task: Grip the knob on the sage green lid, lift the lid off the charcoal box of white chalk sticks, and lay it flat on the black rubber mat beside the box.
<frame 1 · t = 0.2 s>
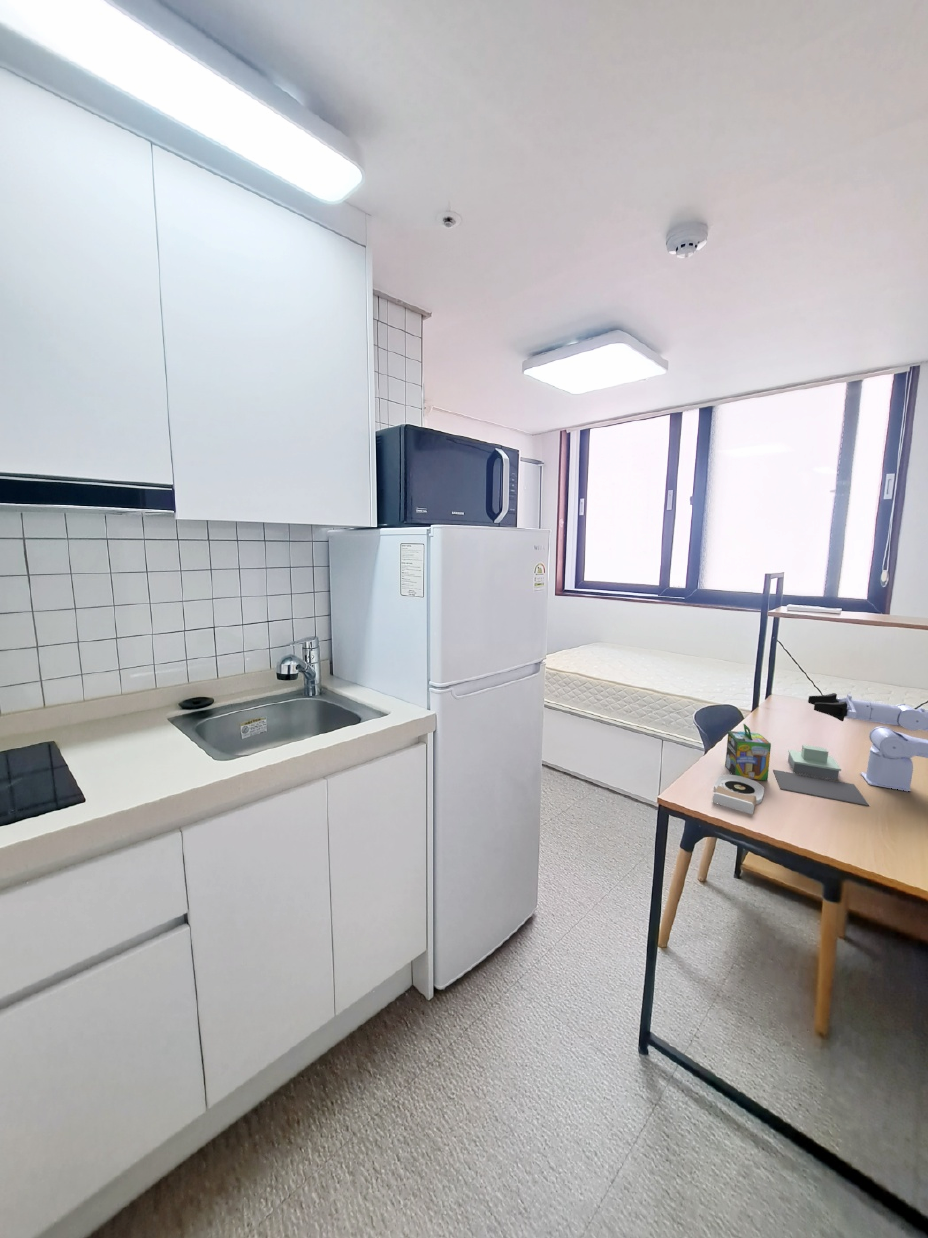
hand: (811, 702, 146), 21 cm above the table, tool horizontal, fingers open, 7 cm apart
lid: (813, 763, 148), point 2 cm above the table
chalk tray box: (811, 771, 149), on the table
record player: (737, 795, 133), on the table
chalk box: (745, 773, 146), on the table
rubber mat: (817, 787, 138), on the table
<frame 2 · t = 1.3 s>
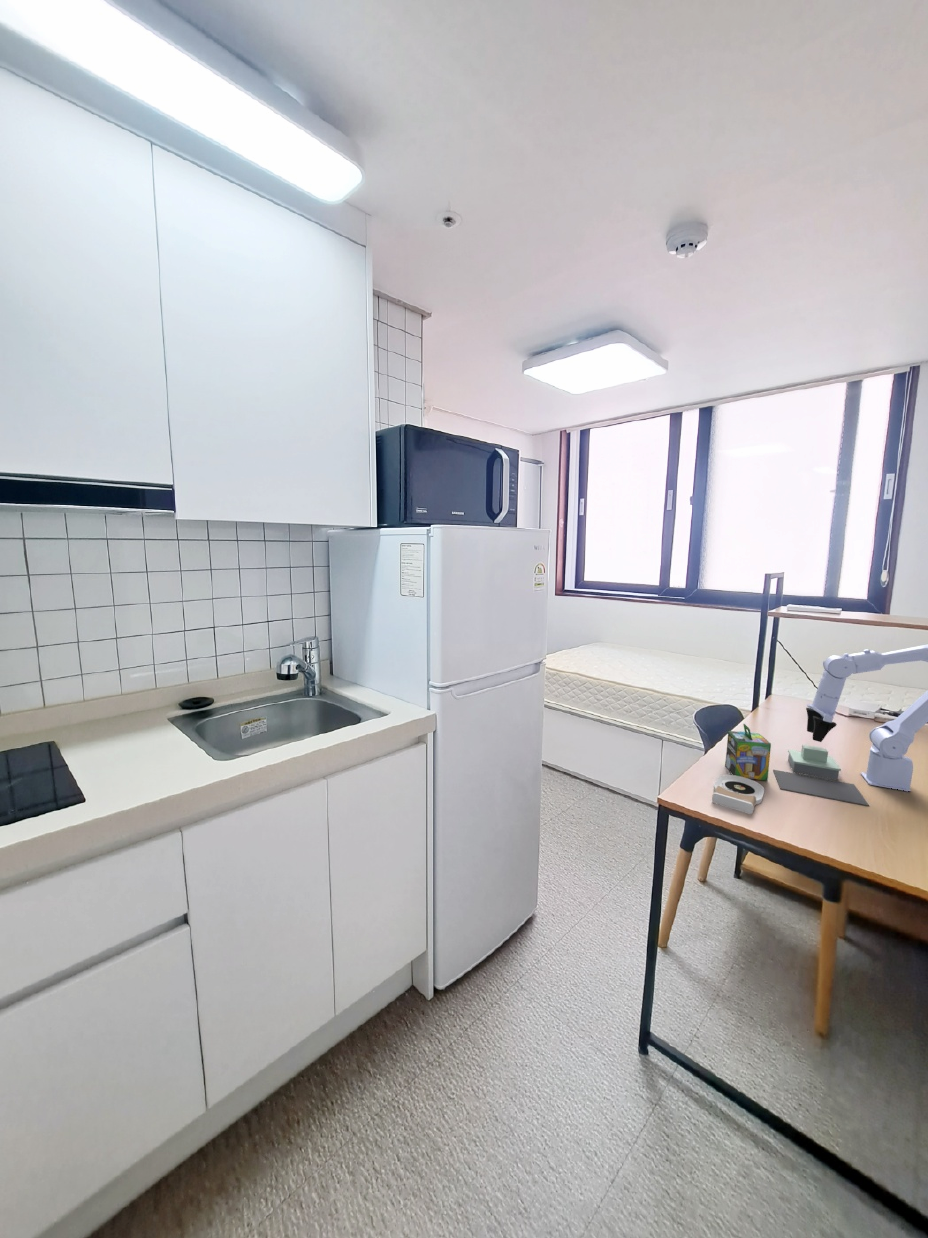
hand: (813, 736, 147), 11 cm above the table, tool pointing down, fingers open, 7 cm apart
lid: (812, 763, 148), point 2 cm above the table, touching chalk tray box
chalk tray box: (811, 771, 149), on the table, touching lid
everything else where it was.
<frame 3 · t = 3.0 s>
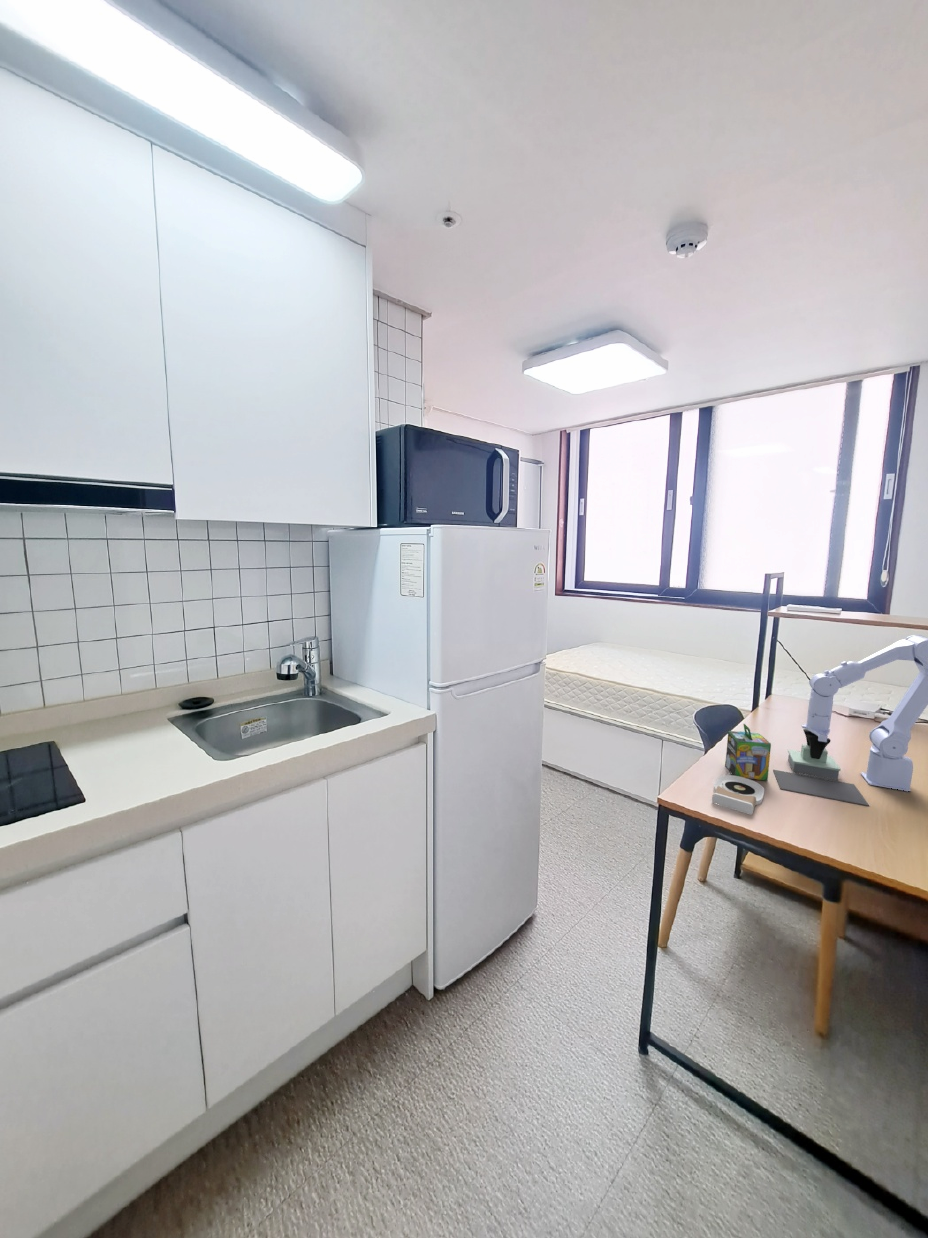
hand: (813, 756, 148), 5 cm above the table, tool pointing down, fingers closed on lid, 3 cm apart
lid: (812, 763, 148), point 2 cm above the table, touching gripper
chalk tray box: (811, 771, 149), on the table
everything else where it was.
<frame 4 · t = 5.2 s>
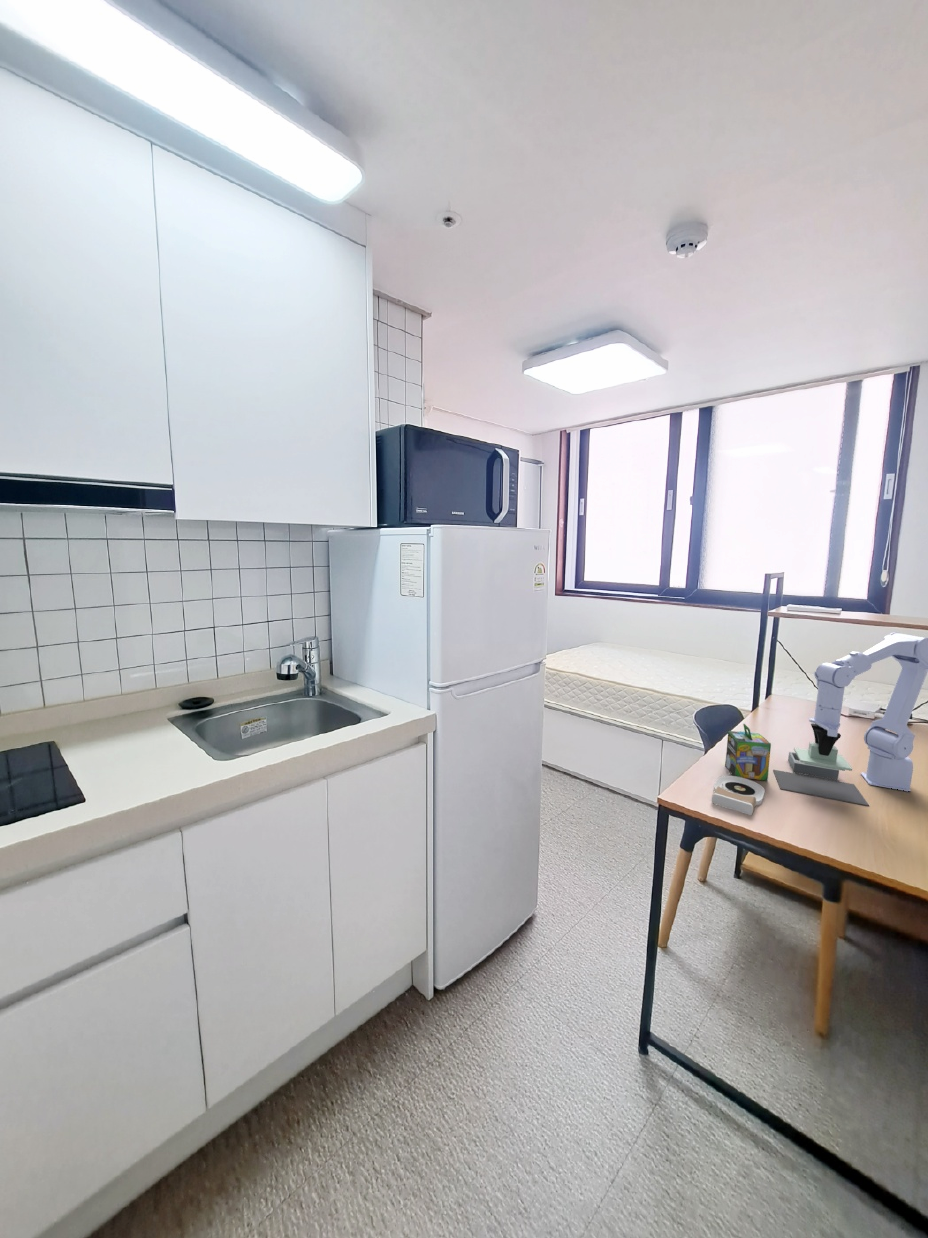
hand: (822, 752, 136), 10 cm above the table, tool pointing down, fingers closed on lid, 3 cm apart
lid: (821, 762, 137), point 7 cm above the table, touching gripper
everything else where it was.
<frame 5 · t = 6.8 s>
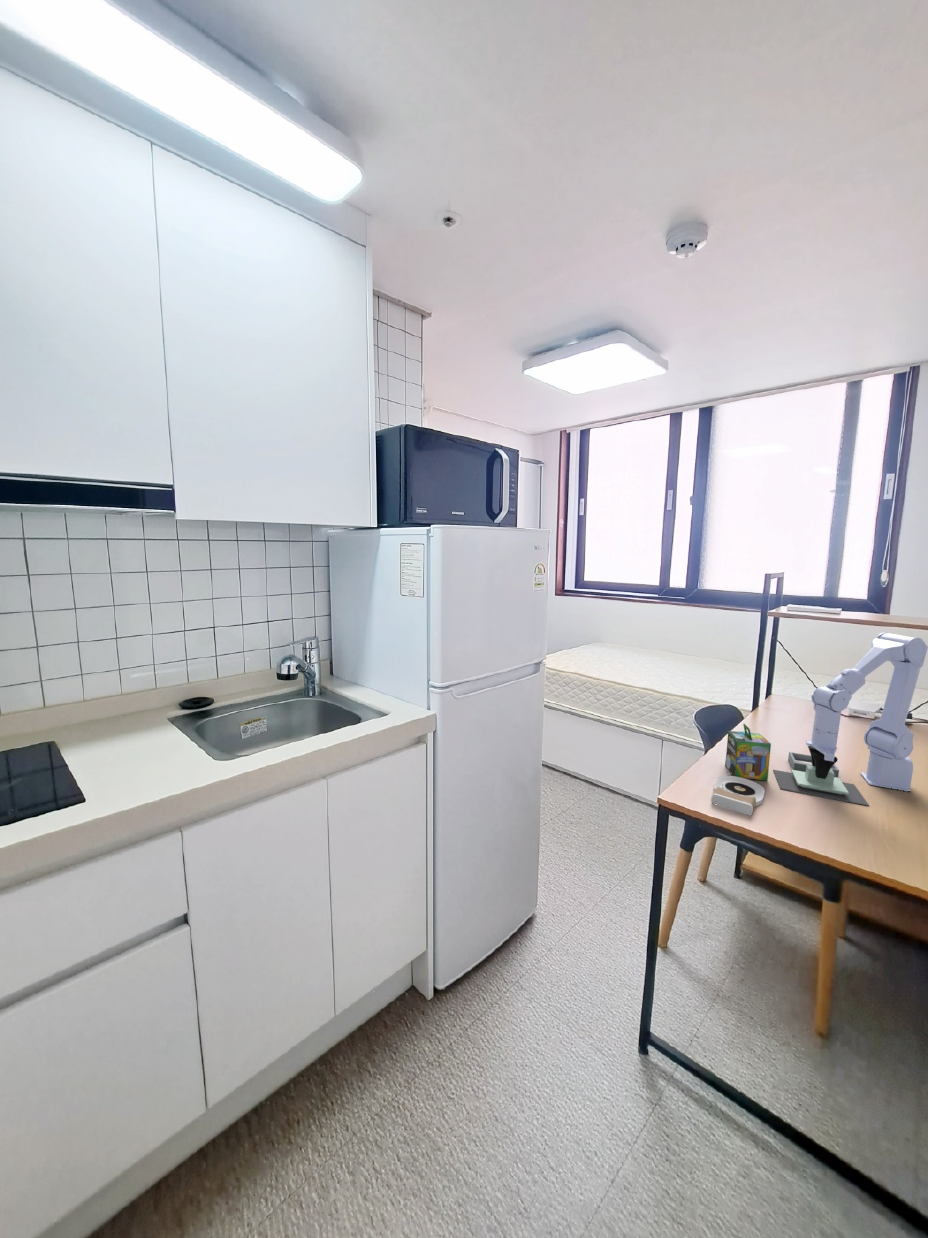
hand: (819, 775, 137), 4 cm above the table, tool pointing down, fingers closed on lid, 3 cm apart
lid: (818, 785, 138), point 1 cm above the table, touching gripper
everything else where it was.
when the fingers open (3 cm above the table, at t = 7.6 s): lid stays where it is, resting on rubber mat.
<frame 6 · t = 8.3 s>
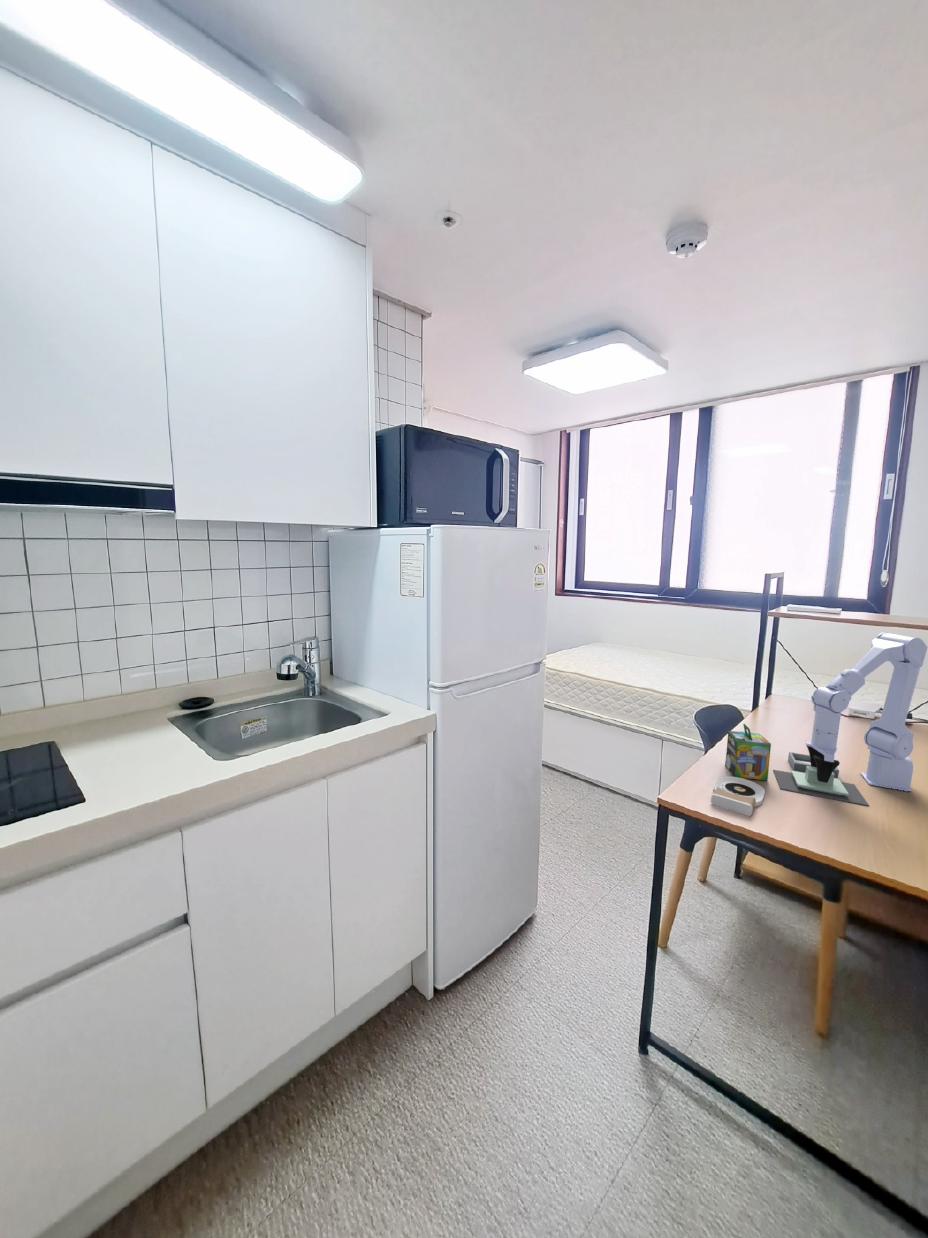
hand: (819, 776, 137), 3 cm above the table, tool pointing down, fingers open, 7 cm apart
lid: (817, 786, 138), resting on rubber mat
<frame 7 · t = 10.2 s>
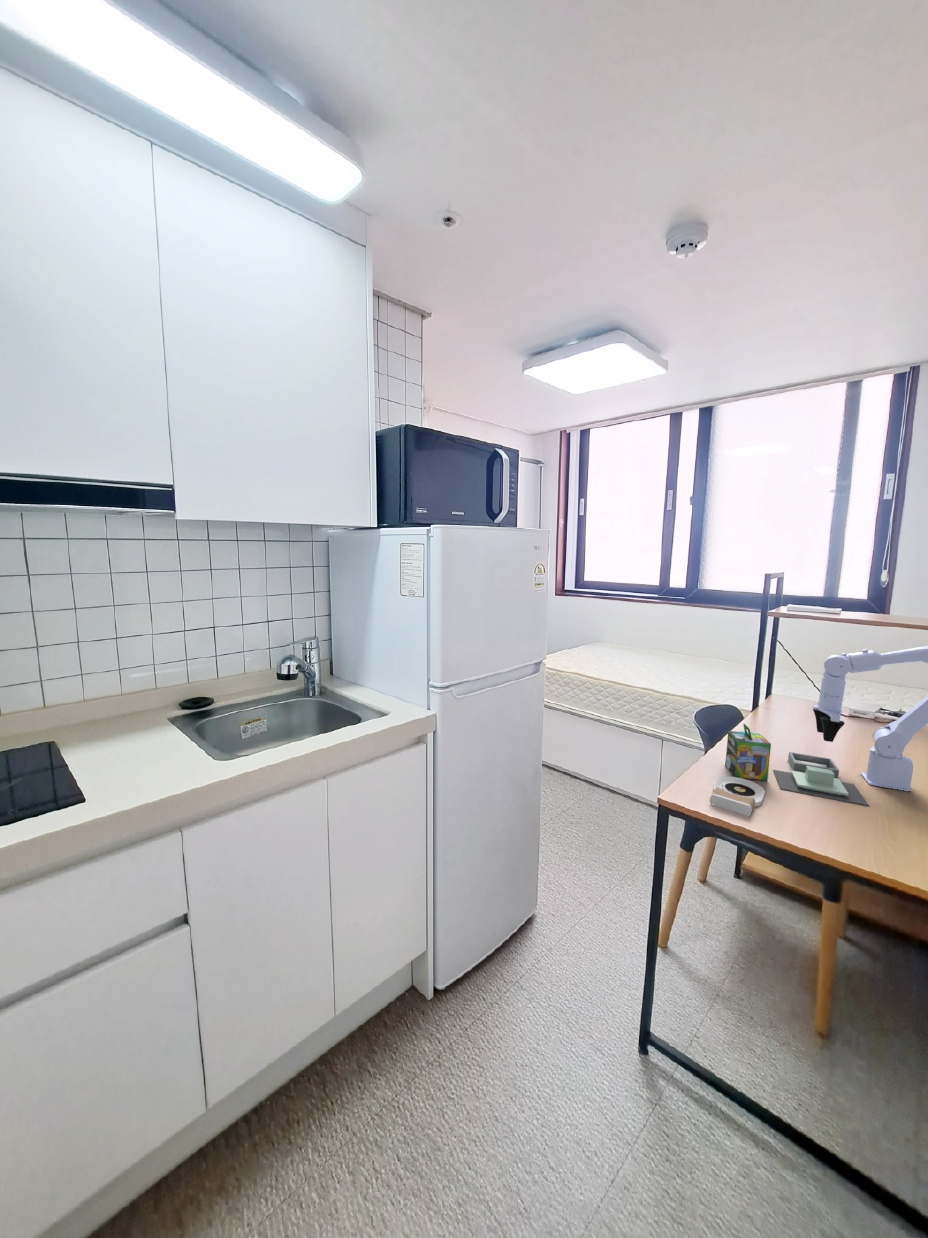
hand: (824, 736, 149), 10 cm above the table, tool pointing down, fingers open, 7 cm apart
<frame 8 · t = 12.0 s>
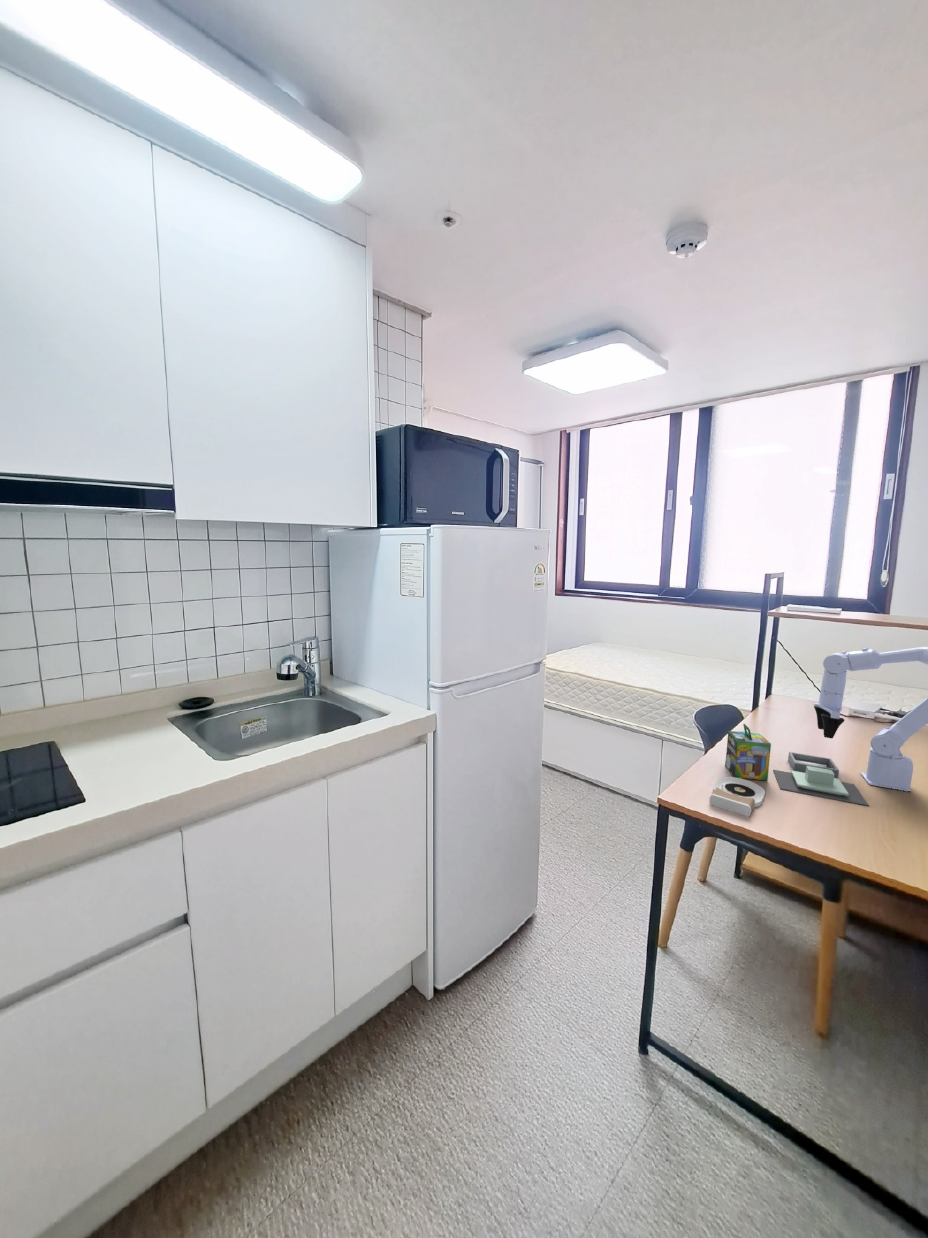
hand: (825, 733, 151), 10 cm above the table, tool pointing down, fingers open, 7 cm apart
at the end: lid inside the target area on the rubber mat (0.1 cm from its centre), point 0.3 cm above the rubber mat's base; lid tilted 0°; chalk tray box moved 0.4 cm from its start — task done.
